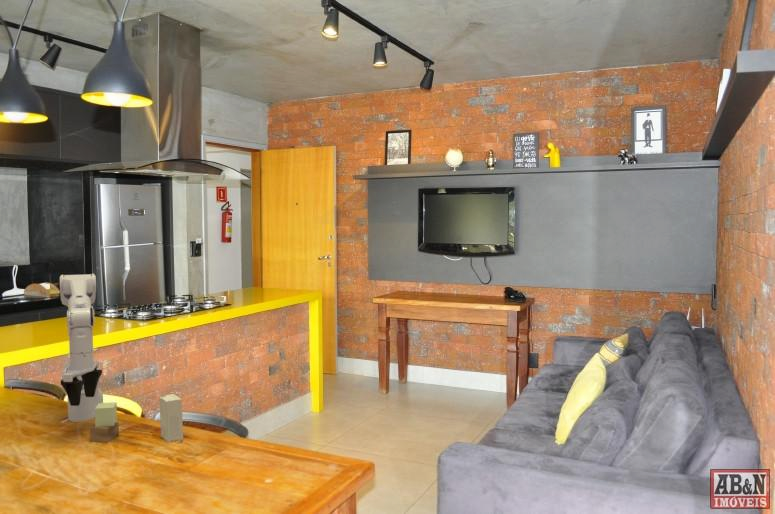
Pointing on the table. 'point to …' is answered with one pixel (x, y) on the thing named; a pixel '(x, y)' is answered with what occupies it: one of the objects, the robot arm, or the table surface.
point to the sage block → (105, 414)
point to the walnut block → (104, 433)
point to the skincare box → (171, 418)
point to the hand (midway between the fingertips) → (82, 400)
